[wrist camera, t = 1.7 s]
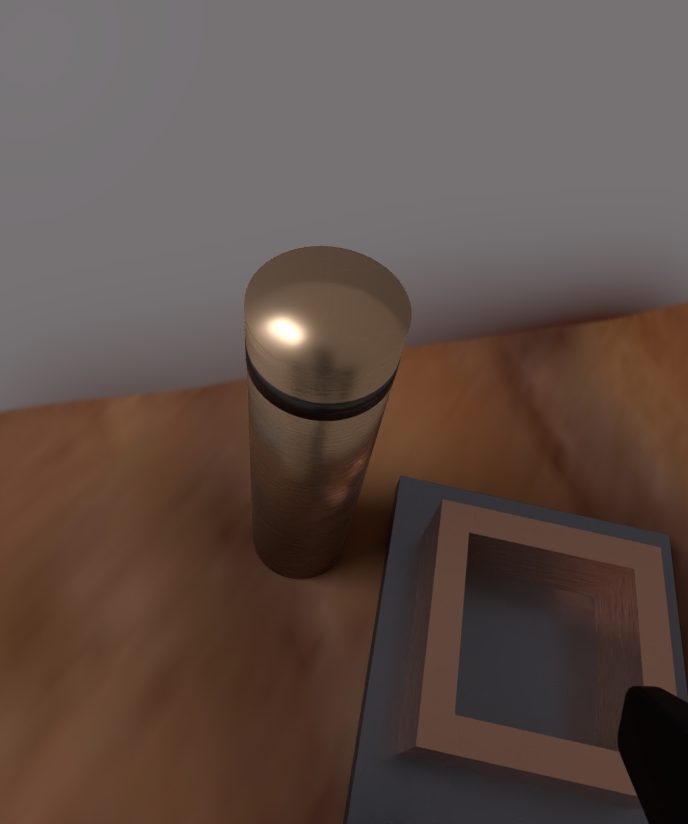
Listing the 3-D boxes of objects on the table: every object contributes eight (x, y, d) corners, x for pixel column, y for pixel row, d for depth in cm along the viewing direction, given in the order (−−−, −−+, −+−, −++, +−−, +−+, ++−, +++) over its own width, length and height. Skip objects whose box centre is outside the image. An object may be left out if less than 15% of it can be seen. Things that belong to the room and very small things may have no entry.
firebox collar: (693, 908, 19) (785, 929, 16) (342, 828, 19) (359, 831, 16) (655, 544, 25) (714, 503, 22) (396, 486, 26) (416, 437, 22)
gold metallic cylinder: (313, 597, 23) (359, 401, 12) (233, 546, 23) (208, 317, 13) (361, 521, 25) (439, 291, 14) (286, 476, 25) (303, 223, 15)
